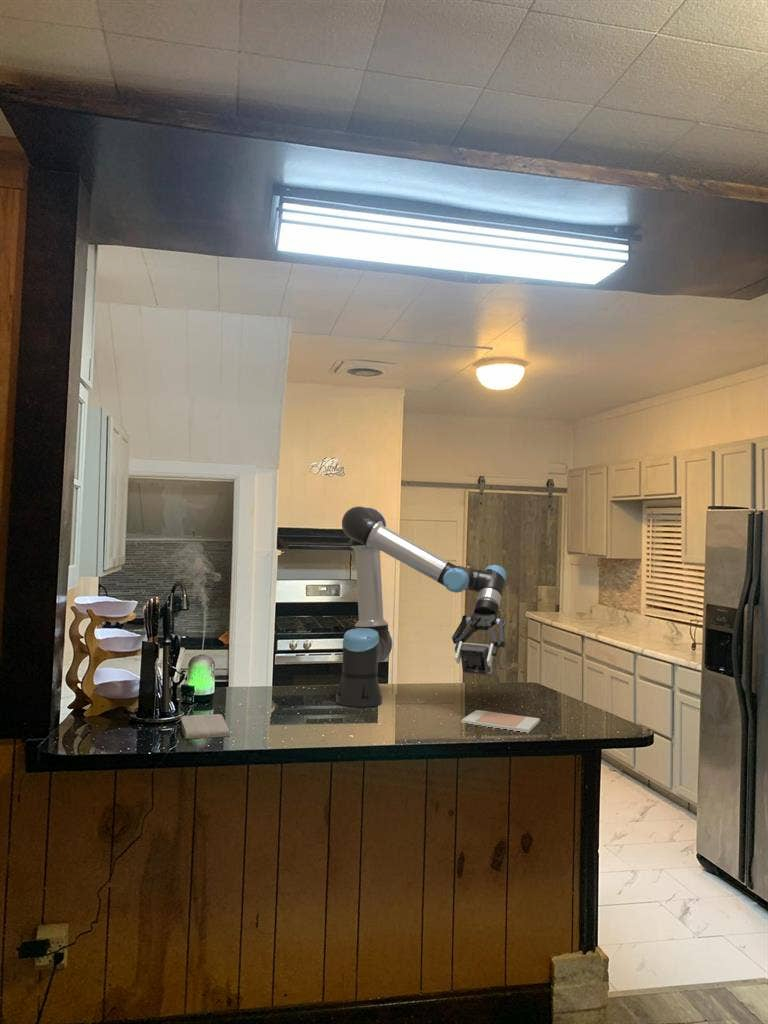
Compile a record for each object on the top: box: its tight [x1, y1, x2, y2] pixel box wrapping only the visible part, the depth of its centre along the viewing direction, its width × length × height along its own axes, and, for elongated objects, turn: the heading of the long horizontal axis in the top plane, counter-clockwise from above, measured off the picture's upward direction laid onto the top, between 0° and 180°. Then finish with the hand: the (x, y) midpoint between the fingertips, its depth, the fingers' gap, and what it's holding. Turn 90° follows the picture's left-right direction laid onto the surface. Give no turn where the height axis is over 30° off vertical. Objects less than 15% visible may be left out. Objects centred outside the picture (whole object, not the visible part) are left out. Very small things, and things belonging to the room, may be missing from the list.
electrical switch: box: [460, 642, 494, 676], centre depth 219 cm, size 9×5×9 cm, turn 58°
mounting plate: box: [460, 709, 541, 734], centre depth 214 cm, size 20×15×1 cm
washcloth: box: [180, 713, 231, 740], centre depth 196 cm, size 12×18×3 cm, turn 21°
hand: (472, 662), depth 217 cm, fingers closed on electrical switch, 9 cm apart
